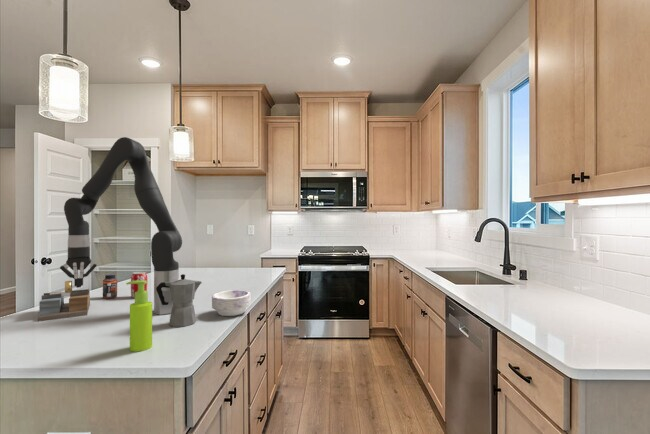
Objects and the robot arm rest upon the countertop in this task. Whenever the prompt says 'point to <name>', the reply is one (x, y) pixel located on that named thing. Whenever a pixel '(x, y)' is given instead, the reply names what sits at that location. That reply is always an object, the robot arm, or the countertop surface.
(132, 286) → the soda can
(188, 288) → the coffeepot
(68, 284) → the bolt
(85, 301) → the block holder
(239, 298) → the white marbled bowl
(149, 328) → the soap dispenser
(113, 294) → the supplement bottle
